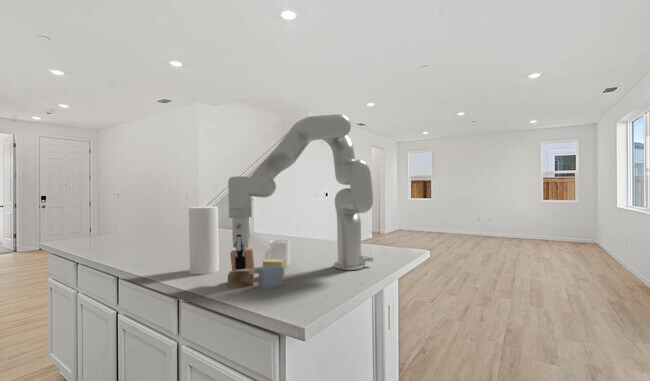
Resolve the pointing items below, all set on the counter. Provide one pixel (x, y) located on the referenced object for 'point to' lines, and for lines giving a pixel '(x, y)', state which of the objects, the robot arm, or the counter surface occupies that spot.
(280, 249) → the mug
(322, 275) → the counter surface
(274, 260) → the mustard brick
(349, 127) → the robot arm
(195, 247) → the tall pillar cylinder
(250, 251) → the terracotta brick
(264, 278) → the slate brick
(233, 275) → the walnut block
